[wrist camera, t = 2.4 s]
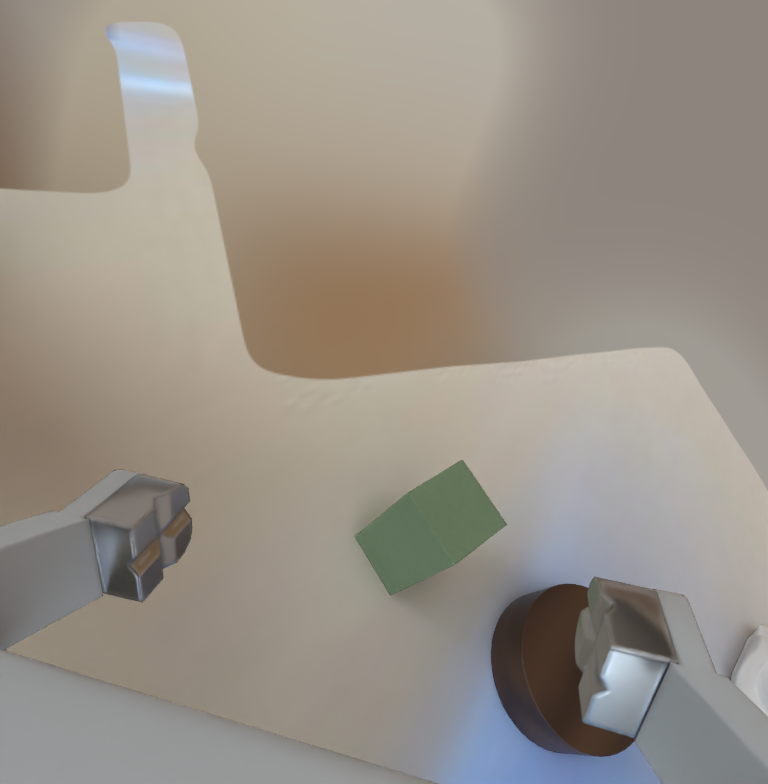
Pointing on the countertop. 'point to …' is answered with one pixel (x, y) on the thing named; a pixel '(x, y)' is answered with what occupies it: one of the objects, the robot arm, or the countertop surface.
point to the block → (430, 528)
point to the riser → (547, 673)
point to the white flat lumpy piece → (754, 668)
